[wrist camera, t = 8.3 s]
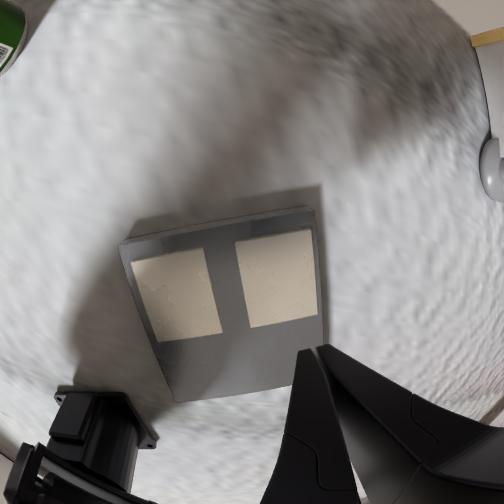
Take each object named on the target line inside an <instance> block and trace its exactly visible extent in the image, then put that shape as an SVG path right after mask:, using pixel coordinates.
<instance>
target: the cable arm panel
mask: <svg viewBox="0 0 504 504" xmlns="http://www.w3.org/2000/svg"><path fill="white" fill-rule="evenodd" d="M470 39H471V42H472V46H473V47H475V48H476V52H477V56H478V60H479V64H480V68H481V72H482V76H483V81H484V86H485V91H486V97H487V103H488V109H489V117H490V125H491V134H492V138H491V139H490V140H488V141H487V143H486V144H485V146H484V148H483V151H482V155H481V161H480V174H481V180H482V185H483V188H484V190H485V192H486V194H487V195H488V196H489V197H490V198H491V199H492V200H495V201H499V202H504V27H503V28H499V29H495V30H491V31H488V32H484V33H480V34H477V35H473V36H470Z"/></svg>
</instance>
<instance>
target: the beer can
mask: <svg viewBox="0 0 504 504" xmlns="http://www.w3.org/2000/svg"><path fill="white" fill-rule="evenodd" d="M27 31H28V23H27V18H26V15H25V13H24V11H23V10H22V9H21V8H20V7H19V6H17V5H15V4H13V3H12V2H10V1H8V0H0V76H1V75H2V74H4V73H5V72H6V71H7V70H8V69H9V67H10V66H11V65H12V63H13V62H14V61H15V60H16V58H17V56H18V54H19V53H20V51H21V49H22V47H23V44H24V42H25V39H26V36H27Z"/></svg>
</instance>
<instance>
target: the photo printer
mask: <svg viewBox="0 0 504 504" xmlns="http://www.w3.org/2000/svg"><path fill="white" fill-rule="evenodd" d="M12 465H13V462H11V461H10V460H8V459H7V458H6V457H4V456H3V455H1V454H0V504H7V502H6V500H5V498H4V495H3V491H4V488H5V485H6V482H7V479H8V476H9V473H10V470H11V468H12Z"/></svg>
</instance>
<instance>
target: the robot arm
mask: <svg viewBox="0 0 504 504" xmlns="http://www.w3.org/2000/svg"><path fill="white" fill-rule="evenodd" d="M54 399H55V400H56V402H57V403H58V405H59V406H60V409H59V411H58V413H57V415H56V417H55V419H54V421H53V424H52V426H51V428H50V430H49V435H50V436H51V437H50V439H49V442H48V444H47V446H44V445H43V444H41V443H40V442H38V443H37V444H36V445H35V447H34V446H33V445H30V444H27V443H24V442H23V443H22V445H21V447H20V449H19V451H18V453H17V456H16V458H15V460H14V463H13V465H12V468H11V470H10V473H9V476H8V479H7V482H6V485H5V488H4V491H3V495H4V498H5V500H6V502H7V504H157V503H156V502H153V501H150V500H149V501H147V500H145V499H142V498H139V497H137V496H135V495H132V494H130V493H131V487H132V481H133V475H134V470H135V464H136V459H137V453H138V449H155V448H156V444H157V443H156V441H155V440H154V438H153V437H152V435H151V434H150V432H149V431H148V429H147V428H146V426H145V425H144V423H143V422H142V420H141V418H140V417H139V415H138V414H137V412H136V410H135V409H134V407H133V406H132V404H131V402H130V400H129V399H128V397H127V396H126V395H125V394H124V393H121V392H60V391H58V392H56V393H55V395H54ZM349 458H350V459H349ZM350 460H351V462H352V465H353V467H354V469H355V471H356V473H357V475H358V477H359V480H360V482H361V484H362V486H363V488H364V490H365V493H366V495H367V497H368V499H369V501H370V503H371V504H504V427H494V426H490V425H487V424H484V423H481V422H478V421H475V420H473V419H470V418H467V417H465V416H462V415H459V414H457V413H454V412H452V411H449V410H447V409H444V408H442V407H440V406H438V405H436V404H434V403H432V402H430V401H428V400H426V399H424V398H422V397H420V396H418V395H416V394H412V392H411V391H409V390H407V389H405V388H404V387H402V386H400V385H398V384H397V383H395V382H393V381H391V380H389V379H388V378H386V377H384V376H383V375H381V374H379V373H377V372H376V371H374V370H372V369H370V368H369V367H367V366H365V365H364V364H362V363H360V362H358V361H357V360H355V359H353V358H352V357H350V356H348V355H347V354H345V353H343V352H342V351H340V350H338V349H337V348H335V347H333V346H332V345H330V344H324V345H320V346H317V347H316V348H315V354H314V352H313V350H312V349H311V348H307V349H303V350H299V351H298V352H297V359H296V365H295V372H294V378H293V384H292V390H291V396H290V402H289V408H288V413H287V419H286V424H285V429H284V435H283V438H282V444H281V448H280V452H279V456H278V460H277V463H276V465H275V468H274V471H273V474H272V477H271V479H270V481H269V484H268V486H267V488H266V491H265V493H264V495H263V497H262V500H261V502H260V504H361V501H360V498H359V494H358V492H357V486H356V482H355V478H354V474H353V470H352V466H351V462H350ZM37 474H39V475H41V476H42V477H44V478H43V480H42V479H40V478H39V477H37Z"/></svg>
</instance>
